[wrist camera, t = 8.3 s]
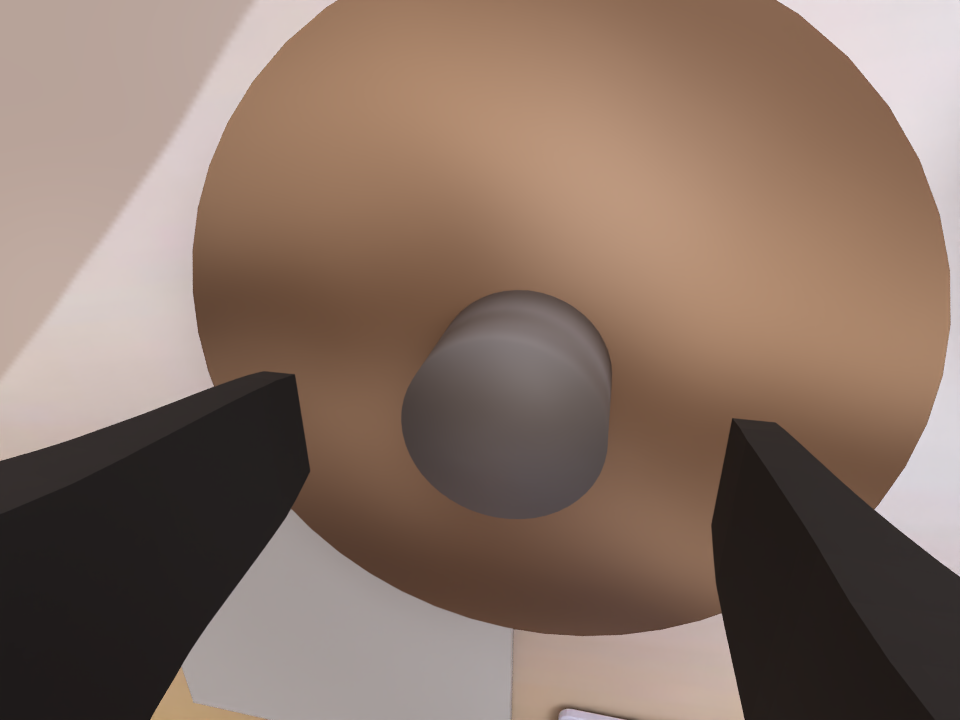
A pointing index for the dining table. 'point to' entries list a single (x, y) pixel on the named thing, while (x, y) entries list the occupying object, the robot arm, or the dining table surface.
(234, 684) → the grey mat
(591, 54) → the walnut lid
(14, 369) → the dining table surface
